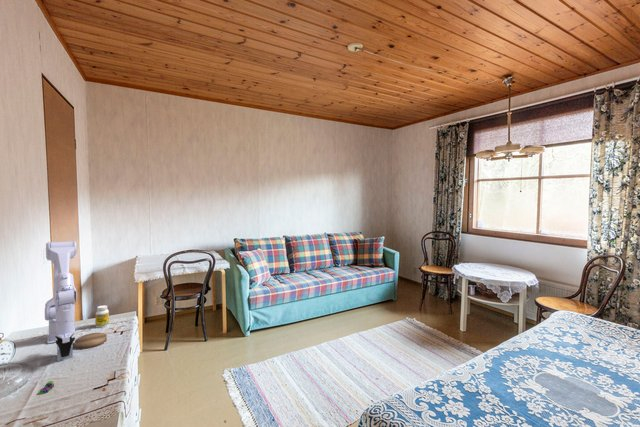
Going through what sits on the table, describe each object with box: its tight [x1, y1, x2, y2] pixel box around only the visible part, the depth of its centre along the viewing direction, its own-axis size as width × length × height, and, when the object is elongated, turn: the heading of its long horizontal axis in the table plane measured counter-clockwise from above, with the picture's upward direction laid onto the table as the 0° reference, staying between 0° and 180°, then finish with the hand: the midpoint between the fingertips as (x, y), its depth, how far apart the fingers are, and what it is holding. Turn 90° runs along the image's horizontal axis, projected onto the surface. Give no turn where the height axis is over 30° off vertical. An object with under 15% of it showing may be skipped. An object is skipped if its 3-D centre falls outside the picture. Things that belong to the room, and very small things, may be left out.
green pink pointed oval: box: [36, 380, 55, 396], centre depth 96 cm, size 4×3×2 cm, turn 14°
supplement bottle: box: [95, 305, 110, 328], centre depth 145 cm, size 5×5×10 cm
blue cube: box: [56, 344, 74, 362], centre depth 116 cm, size 4×4×4 cm
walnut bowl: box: [74, 332, 107, 350], centre depth 128 cm, size 11×11×2 cm
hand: (64, 353), depth 116 cm, fingers closed on blue cube, 4 cm apart
